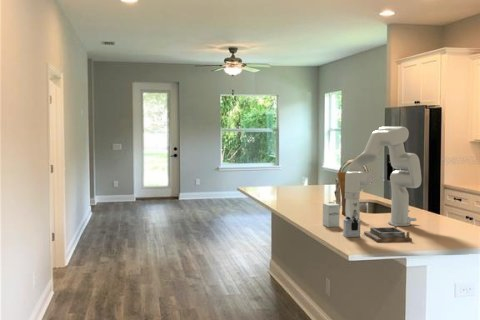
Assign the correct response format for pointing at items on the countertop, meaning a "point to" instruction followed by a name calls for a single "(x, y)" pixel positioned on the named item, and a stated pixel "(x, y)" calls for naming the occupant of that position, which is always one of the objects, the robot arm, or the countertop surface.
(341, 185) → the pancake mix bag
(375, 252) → the countertop surface
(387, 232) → the carrier board
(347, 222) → the medicine box
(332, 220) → the supplement box
